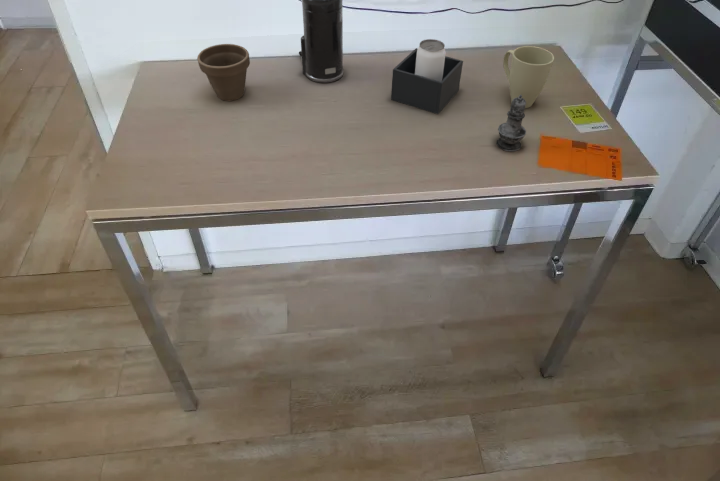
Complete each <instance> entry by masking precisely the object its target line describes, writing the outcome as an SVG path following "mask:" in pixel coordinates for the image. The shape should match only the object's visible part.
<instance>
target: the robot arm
mask: <svg viewBox="0 0 720 481" xmlns="http://www.w3.org/2000/svg"><path fill="white" fill-rule="evenodd" d="M301 4H302V5H301V8H302V23H303V24H302V25H303V35H302V36H301V37H300V49H301V50H300V51H298V55H299V57H301V69H302V75H304V76H305V77H306V78H307V79H309V80H310V81H312V82H315V83H319V84H320V83H322V84H326V83H327V84H328V83H334V82H337V81H339V80H340V79H341V78H342V77H343V76H344V65H343V64H344V63H343V62H344V48H343V47H344V46H343V45H344V36H343V32H344V31H343V28H344V27H343V26H344V25H343V21H344V20H343V0H301Z"/></svg>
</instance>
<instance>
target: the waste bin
mask: <svg viewBox="0 0 720 481" xmlns="http://www.w3.org/2000/svg"><path fill="white" fill-rule="evenodd" d="M417 49H418V47H416V48H414V49H413V51H411V52H410V53H409V54H408V55H407V56H406V57H405V58H404V59H402V60H401V61H400V62H399V63H398V64H397V65H396V66H395V67H394V68H393V69H392V78H391V91H390V92H391V93H390V100H392V101H394V102H398V103H400V104H404V105H407V106H410V107H414V108H417V109H419V110H423V111H426V112H429V113H433V114H435V115H439V114H440V113H441V111H443V109H444V108H445V107H446V106H447V105H448V104H449V102H450V101H451V100H452V99H453V98H454V97H455V95H456V94H457V93H458V92H459V90H460V84H461V78H462V72H463V66H464V60H461V59H458V58H454V57H451V56H446V55H445V62H444V70H443V78H442V81H441V82H440V81H436V80H433V79H429V78H426V77H422V76H419V75H416V74H415V67H416V56H417Z"/></svg>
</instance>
